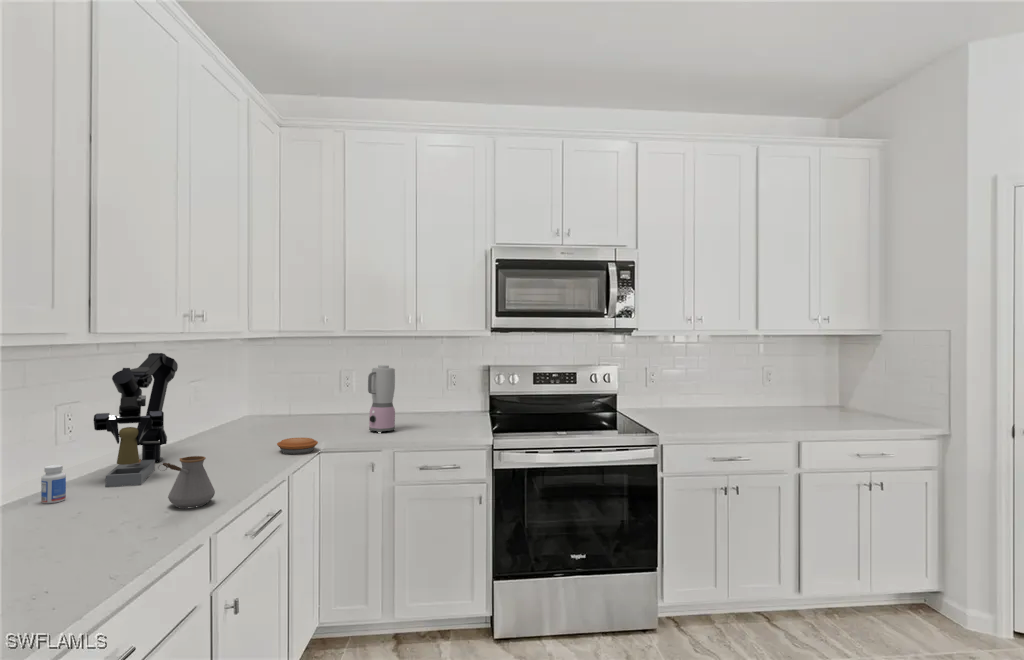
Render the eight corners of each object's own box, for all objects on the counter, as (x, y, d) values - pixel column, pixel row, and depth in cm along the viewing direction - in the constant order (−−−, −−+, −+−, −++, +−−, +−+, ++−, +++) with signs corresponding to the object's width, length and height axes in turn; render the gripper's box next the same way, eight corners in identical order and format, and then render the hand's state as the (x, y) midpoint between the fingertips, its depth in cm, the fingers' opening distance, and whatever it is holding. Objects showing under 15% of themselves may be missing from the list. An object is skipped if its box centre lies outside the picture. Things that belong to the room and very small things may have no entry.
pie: (276, 456, 226) (277, 443, 226) (276, 448, 240) (277, 436, 240) (318, 454, 231) (319, 441, 231) (316, 447, 246) (316, 435, 246)
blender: (382, 428, 294) (384, 364, 294) (400, 431, 287) (401, 365, 287) (358, 432, 281) (359, 365, 281) (376, 435, 274) (377, 367, 274)
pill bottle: (68, 497, 167) (69, 463, 167) (61, 503, 162) (62, 467, 162) (45, 499, 165) (46, 464, 165) (37, 504, 160) (38, 468, 160)
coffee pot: (181, 498, 169) (182, 446, 169) (221, 498, 170) (223, 446, 170) (137, 522, 148) (138, 463, 148) (184, 523, 148) (185, 463, 148)
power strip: (122, 471, 198) (122, 459, 198) (154, 469, 201) (154, 457, 201) (105, 487, 179) (105, 473, 179) (141, 484, 182) (141, 471, 182)
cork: (135, 459, 189) (136, 425, 189) (142, 462, 185) (143, 427, 185) (113, 462, 184) (114, 427, 184) (120, 465, 181) (121, 429, 181)
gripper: (94, 387, 183) (89, 429, 174) (164, 386, 193) (163, 425, 183) (97, 409, 190) (92, 450, 181) (164, 406, 200) (162, 445, 190)
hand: (128, 442), depth 184 cm, fingers closed on cork, 5 cm apart
